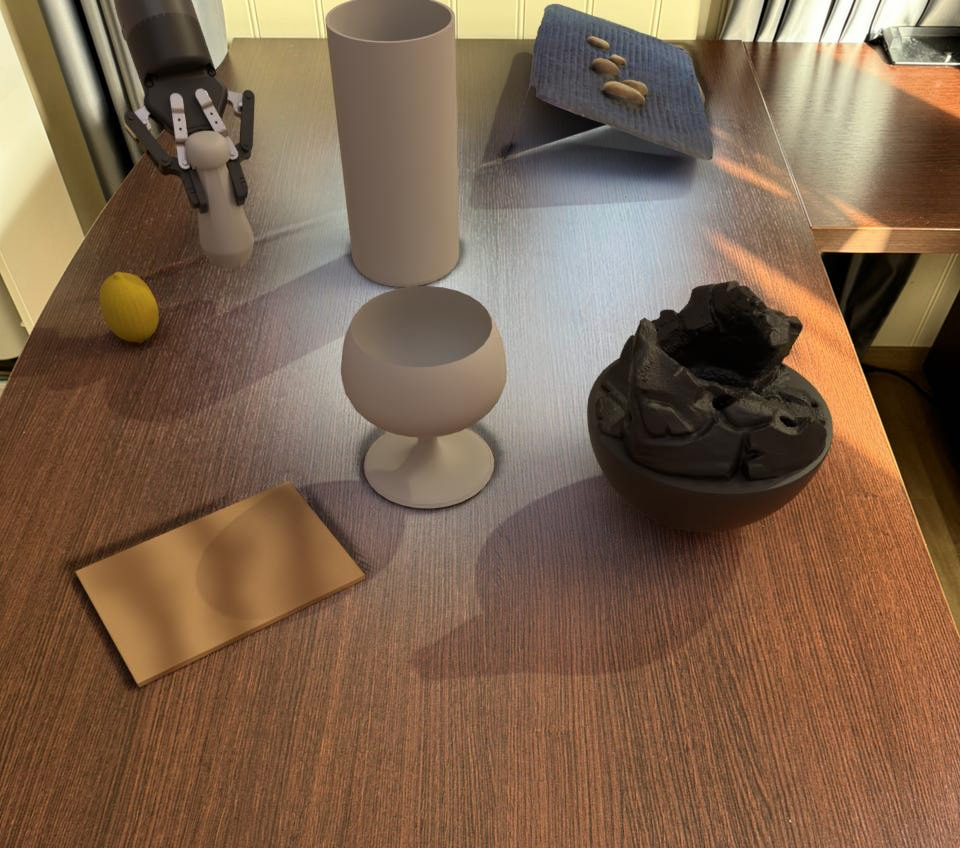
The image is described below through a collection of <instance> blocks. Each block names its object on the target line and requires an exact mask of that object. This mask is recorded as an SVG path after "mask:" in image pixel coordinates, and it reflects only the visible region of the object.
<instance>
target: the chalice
mask: <svg viewBox="0 0 960 848" xmlns="http://www.w3.org/2000/svg"><path fill="white" fill-rule="evenodd" d="M507 373H508V370H507V357H506V350H505V345H504V342H503V338H502V335H501V332H500V331H499V328H498V325H497V324H496V322H495V319H494V318H493V316H492V314H491V313H490V312H489V310H488V309H487V308H486V306H484V305H483V304H482V303H481V302H480V301H479V300H477V299H475V298H474V297H473V296H471V295H469V294H466V293H463V292H461V291H459V290H456V289H451V288H448V287H443V286H433V285H420V286H412V287H398V288H396V289H393V290H388V291H386V292H383V293H380V294H379V295H377V296H374V297H373V298H371V299H369V300H368V301H367V302H365V303H364V304H362V305H361V307H360V308H359V309H358V310H357V311H356V312H355V313H354V315H353V317H352V319H351V320H350V323H349V325H348V327H347V329H346V332H345V335H344V339H343V343H342V351H341V361H340V377H341V381H342V382H341V383H342V386H343V390H344V394H345V395H346V397H347V399H348V401H350V404H351V405H352V407H353V408H354V410H355V411H356V412H357V413H358V414H359V415H360V416H361V417H362V418H363V419H365V420H366V421H367V422H368V423H370V424H372V425H373V426H375V427H376V428H378V429H379V430H382V431H384V432H385V433H384V434H382V435H381V436H380V437H378V438H377V439H376V440H375V441H374V442H373V443H372V444H371V445H370V446H369V448H368V451H367V453H366V455H365V456H364V462H363V470H364V476H365V478H366V480H367V481H368V484H369V485H370V487H371V488H373V490H375V492H376V493H377V494H379V495H380V496H382V498H385V499H386V500H388V501H390V502H393V503H395V504H397V505H401V506H405V507H410V508H415V509H438V508H447V507H449V506H453V505H456V504H460V503H462V502H464V501H466V500H468V499H470V498H472V497H474V496H475V495H477V494H478V493H480V491H481V490H483V489H484V488H485V486H486V485H487V484H488V482H489V481H490V480H491V478H492V475H493V473H494V469H495V458H494V455H493V452H492V450H491V448H490V446H489V445H488V443H487V442H486V441H485V440H484V439H483V438H482V437H481V436H480V435H479V434H477V433H476V432H474V431H473V430H470V429H468V428H470V427H473V426H474V425H475V424H477V423H479V422H480V421H481V420H482V419H484V418H485V417H486V416H487V415H488V414H490V413H491V411H492V410H493V409H494V408H495V406H496V405H497V404H498V402H499V400H500V398H501V397H502V394H503V392H504V390H505V387H506V382H507V375H508V374H507Z"/></svg>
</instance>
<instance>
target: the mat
mask: <svg viewBox="0 0 960 848" xmlns="http://www.w3.org/2000/svg"><path fill="white" fill-rule="evenodd" d="M687 54H688V55H689V56H687ZM693 62H694V61H693V59H692V57H691V56H690V54H689V52H687V50H685V48H682V47H679V46H677V45H675V44H672V43H670V42H667V41H666V40H663V39H660V38H658V37H656V36H654V35H651V34H647V33H644V32H642V31H641V32H640V31H638V30H636V29H634V28H631V27H629V26H626V25H624V24H620V23H617V22H614V21H611V20H608V19H606V18H602V17H600V16H596V15H593V14H589V13H587V12H584V11H581V10H578V9H576V8H572V7H569V6H567V5H563V4H561V3H551V4H548V5H546V6H545V7H544V9H543V16H542V18H541V20H540V24H539V26H538V29H537V32H536V36H535V40H534V45H533V53H532V58H531V68H530V69H531V71H530V75H529V83H528V88H527V90H526V91H527V92H526V94H525V98H524V100H523V104H522V106H521V110H520V113H519V117H518V119H517V123H516V127H515V129H514V132H513V134H512V137H511V140H510V143H509V145H508V148H507V151H506V152H508V151H509V149H510V147H511V145H512V143H513V139H514V136H515V133H516V128H517V126H518V124H519V121H520V118H521V115H522V112H523V110H524V106H525V103H526V100H527V96H528V93H529V91H530V89H531V87H533V88H534V89H535V95H536V98H537V99H539V100H541V101H543V102H544V103H547V104H550V105H551V106H554V107H557V108H559V109H562V110H564V111H567V112H570V113H572V114H575V115H578V116H581V117H583V118H585V119H589V120H592V121H595V122H598V123H601V124H603V125H606V126H610V127H612V128H614V129H617V130H619V131H622V132H624V133H626V134H629V135H632V136H634V137H636V138H639V139H641V140H644V141H647V142H650V143H653V144H656V145H658V146H659V145H660V146H662V147H665V148H667V149H671V150H674V151H677V152H679V153H683V154H685V155H689V156H691V157H694V158H696V159H700V160H704V161H712V160H713V159H714V158H713V155H714V145H713V139H712V136H711V133H710V126H709V123H708V121H707V116H706V113H705V107H704V106H705V102H706V98H705V97H706V96H705V94H704V92H703V90H702V87H701V85H700V83H699V81H698V78H697V75H696V72H695V71H696V70H695V66H694V63H693ZM506 158H507V156H506V155H505V156H504V158H503V160H502V163H504V161H505V159H506Z"/></svg>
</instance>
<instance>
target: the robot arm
mask: <svg viewBox="0 0 960 848" xmlns="http://www.w3.org/2000/svg"><path fill="white" fill-rule="evenodd" d="M113 5H114V10H115V12H116V17H117V20H118V23H119V26H120V29H121V30H120V31H121V35H122V37H123V39H124V41H125V43H126V45H127V48H128V51H129V55H130V57H131V59H132V63H133V66H134V68H135V71H136V74H137V76H138V79H139V82H140V85H141V88H142V91H143V94H144V96H143V106H140V108H137V110H135V111H132V110H127V111H125V113H124V115H123V118H124V130H125V131H126V133H127V134H128V136H130V138H131V139H132V140H133V141H134V143H135V144H136V145H137V147H138V148H139V149H140V150H141V152H143V154H144V156H146V157H147V159H148V160H149V161H150V162H151V164H152V165H153V166H154V168H156V169H157V171H158V172H159V173H160V174H161V175H162V176H163V177H165V176H166V177H167V176H169V175H171V176H176V177H178V178H179V179H180V180H181V183H182V185H183V188H184V191H185V194H186V196H187V199H188V203H189V205H190V206H191V208H192V209H193V210H196V209H197V210H198V209H199V212H200V214H203V213H207V211H208V205H207V202H206V199H205V196H204V193H203V190H202V187H201V184H200V182H199V179H198V176H197V173H196V170H195V168H193V165H191V164H190V163H189V162H188V160H187V156H186V151H185V141H186V140H187V138H188V137H189V136H190V135H192V134H194V133H196V132H201V131H213V132H218V133H219V134H221V135H222V136H223V137H225V138H226V141H227V143H228V147H229V153H230V158H229V160H228V161H227V163H226V166H227V168H228V171H229V174H230V177H231V181H232V185H233V189H234V193H235V198H236V201H237V205H238V206H240V205H242V206H244V205H245V203H246V199H247V198H248V194H249V185H248V183H247V179H246V176H245V174H244V171H243V168H242V165H241V163H242V162H243V161H248V160H250V159H251V156H252V150H253V148H254V129H255V128H254V126H255V101H256V98H255V97H256V95H255V93H254V92H253V91H252V90H250V89H245V90H244V91H243V92H237V91H233V90H228V88H227V86H226V84H224V82H222V80H221V79H220V77H219V76H218V74H217V70H216V68H215V64H214V61H213V58H212V56H211V52H210V50H209V47H208V43H207V41H206V38H205V35H204V32H203V30H202V26H201V24H200V20H199V17H198V15H197V11H196V9H195V6H194V3H193V0H113ZM228 105H229V106H230V107H231V109H232V113H233V116H235V117H236V118H239V142H238V143H236V144H234V143H233V140H232V139H231V137H230V135H229V131H228V129H227V128H226V126H225V123H224V122H223V118H224V114H225V111H226V108H227V106H228ZM150 119H151V120H152V121H153V122H154V123H156V124H157V125H158V126H160V128H162V129H163V130H164V131H165V132H167V133H168V134H169V135H170V136H171V137H172V140H173V147H174V153H175V156H170V154H168V152H167V151H166V149H164V147H163V146H162V145H161V144H160V142H159V140H157V138H156V137H155V136H154V135H153V134H152V124H151V122H150Z"/></svg>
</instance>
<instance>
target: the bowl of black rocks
mask: <svg viewBox="0 0 960 848" xmlns="http://www.w3.org/2000/svg"><path fill="white" fill-rule="evenodd" d="M803 329H804V326H803V323H802V321H801V320H800V318H798V316H795V315H787V314H785V313H784V312H783V311H781V310H778V309H774V308H771V307H768V306H767V305H766V304H765V302H764V301H763V299H761V298H760V297H759V296H758V295H757V294H756V293H755V292H754V291H753V290H752V289H751V288H750V287H749V286H747V285H740V284H739V282H738V281H737V280H729V281H725V282H724V281H723V282H719V283H709V284H702V285H698V286H695V287H694V288H693V289H692V290H691V292H690V297H689V299H688V301H687V304H685V305H684V307H683V308H682V309H681V310H679V312H678V311H676V310H675V309H666V308H665V309H662V310H660V312H659V317H658V318H656V319H652V320H649V319H648V318H647V317H643V318H642V319H640V320H639V322H638V325H637V327H636V331H635V333H634V334H631V335H629V337H628V338H627V339H626V341H625V342H624V344H623V347H622V350H621V352H620V354H619V357H618V358H617V359H615V360H614V361H613V362H611V363H610V364H608V365H607V366H606V367H605V368H604V369H603V370H602V371H601V373H600V374H599V375H598V376H597V378H596V379H595V380H594V382H593V385H592V386H591V389H590V391H589V394H588V398H587V405H586V419H587V431H588V437H589V442H590V445H591V448H592V452H593V454H594V457H595V461H596V462H597V464H598V466H599V468H600V470H601V472H602V475H603V476H604V477H605V479H606V481H607V482H608V483H609V485H610V487H611V488H612V489H613V490H614V492H615V493H616V494H617V495H618V496H619V497H620V498H621V499H622V500H623V501H624V502H626V504H627V505H629V507H631V508H632V509H634V510H635V511H637V512H638V513H640V514H641V515H643V516H644V517H646V518H648V519H649V520H652V521H653V522H656V523H657V524H660V525H663V526H665V527H669V528H672V529H676V530H680V531H686V532H692V533H694V532H695V533H718V532H726V531H732V530H737V529H741V528H745V527H747V526H750V525H752V524H755V523H759V522H760V521H763V520H764V519H767V518H768V517H770V516H771V515H773V514H775V513H777V512H778V511H780V510H781V509H783V508H784V507H785V506H787V505H788V504H789V503H790V502H792V500H794V499H795V498H796V497H797V496H798V495H799V494H800V493H801V492H802V491H803V490H804V489H805V488H806V487H807V486H808V485H809V483H811V481H812V480H813V479H814V477H815V476H816V475H817V473H818V471H819V470H820V468H822V465H823V463H824V461H825V459H826V458H827V456H828V453H830V449H831V446H832V442H833V437H834V423H833V417H832V414H831V411H830V408H829V406H828V404H827V402H826V401H825V399H824V397H823V396H822V394H821V393H820V392H819V391H818V389H817V388H816V387H815V386H814V385H813V384H812V383H811V381H809V380H808V379H807V378H806V377H805V376H804V375H802V374H801V373H799V372H798V371H797V370H795V369H794V368H792V367H791V366H789V365H787V364H786V363H784V360H785V359H786V358H787V357H788V356H789V355H790V354H791V350H792V349H793V346H794V345H795V343H796V341H797V340H798V338H799V337H800V334H801V333H802V331H803Z"/></svg>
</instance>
